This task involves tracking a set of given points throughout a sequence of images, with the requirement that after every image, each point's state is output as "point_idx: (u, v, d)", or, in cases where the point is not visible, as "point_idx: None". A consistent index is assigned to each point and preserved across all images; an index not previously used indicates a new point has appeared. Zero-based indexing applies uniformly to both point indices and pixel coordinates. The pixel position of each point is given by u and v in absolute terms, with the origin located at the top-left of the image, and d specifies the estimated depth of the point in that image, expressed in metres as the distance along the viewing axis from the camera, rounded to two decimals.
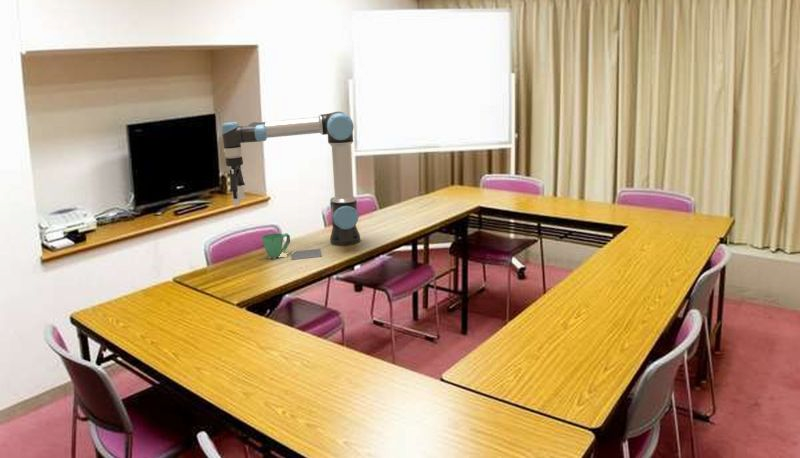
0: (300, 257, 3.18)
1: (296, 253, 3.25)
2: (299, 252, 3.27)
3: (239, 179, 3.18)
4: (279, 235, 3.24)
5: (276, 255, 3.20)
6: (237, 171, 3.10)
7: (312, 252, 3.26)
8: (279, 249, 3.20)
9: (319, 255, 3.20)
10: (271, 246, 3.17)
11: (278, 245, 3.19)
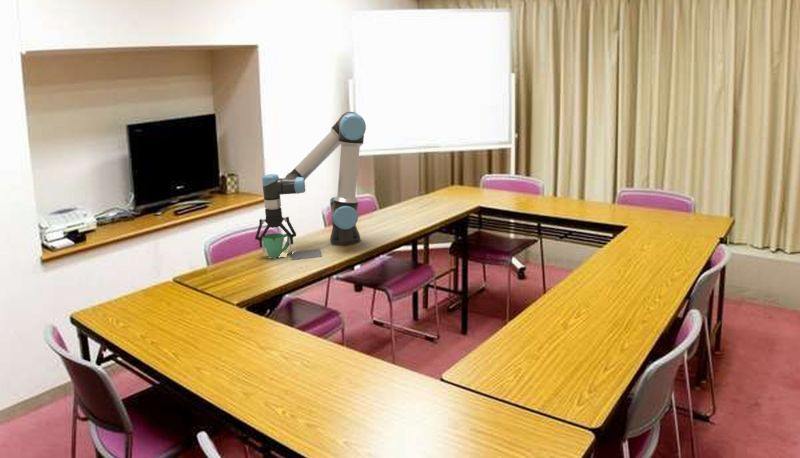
0: (300, 257, 3.18)
1: (296, 253, 3.25)
2: (299, 252, 3.27)
3: None
4: (280, 235, 3.24)
5: (276, 255, 3.20)
6: (269, 222, 3.19)
7: (312, 252, 3.26)
8: (279, 249, 3.20)
9: (319, 255, 3.20)
10: (271, 246, 3.17)
11: (279, 245, 3.19)
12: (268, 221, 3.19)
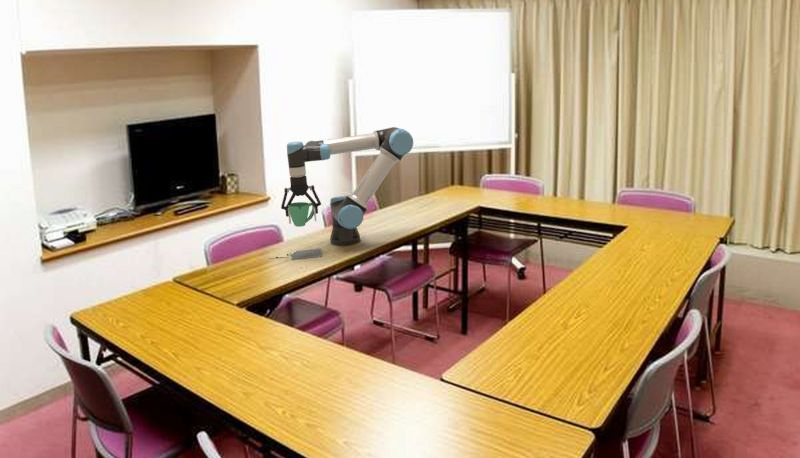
0: (300, 257, 3.18)
1: (296, 253, 3.25)
2: (299, 252, 3.27)
3: (309, 199, 3.18)
4: (305, 204, 3.20)
5: (302, 224, 3.16)
6: (294, 190, 3.15)
7: (312, 252, 3.26)
8: (305, 218, 3.15)
9: (319, 255, 3.20)
10: (297, 214, 3.13)
11: (305, 213, 3.14)
12: (293, 189, 3.15)
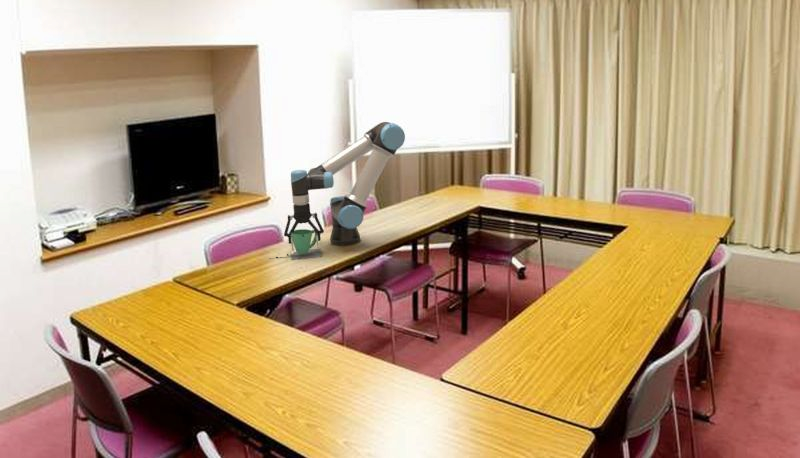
0: (300, 257, 3.18)
1: (296, 253, 3.25)
2: None
3: (312, 227, 3.21)
4: (308, 231, 3.23)
5: (304, 251, 3.19)
6: (298, 218, 3.18)
7: (312, 252, 3.26)
8: (308, 245, 3.19)
9: (319, 255, 3.20)
10: (300, 242, 3.16)
11: (308, 241, 3.17)
12: (296, 217, 3.18)
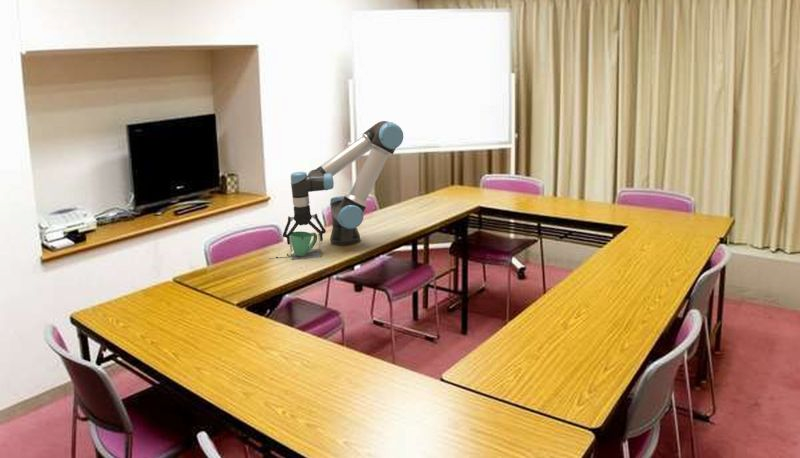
0: (300, 257, 3.18)
1: None
2: None
3: None
4: (307, 234, 3.23)
5: (302, 253, 3.19)
6: (298, 220, 3.18)
7: (312, 252, 3.26)
8: (306, 248, 3.19)
9: (319, 255, 3.20)
10: (299, 244, 3.16)
11: (307, 244, 3.18)
12: (297, 219, 3.18)
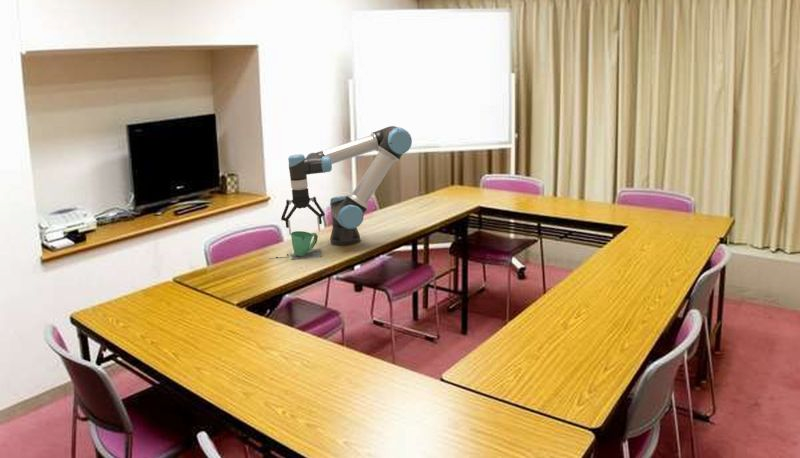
0: (300, 257, 3.18)
1: None
2: None
3: None
4: (308, 234, 3.23)
5: (302, 253, 3.19)
6: (296, 203, 3.16)
7: (312, 252, 3.26)
8: (307, 248, 3.19)
9: (319, 255, 3.20)
10: (299, 244, 3.16)
11: (307, 244, 3.18)
12: (295, 202, 3.16)
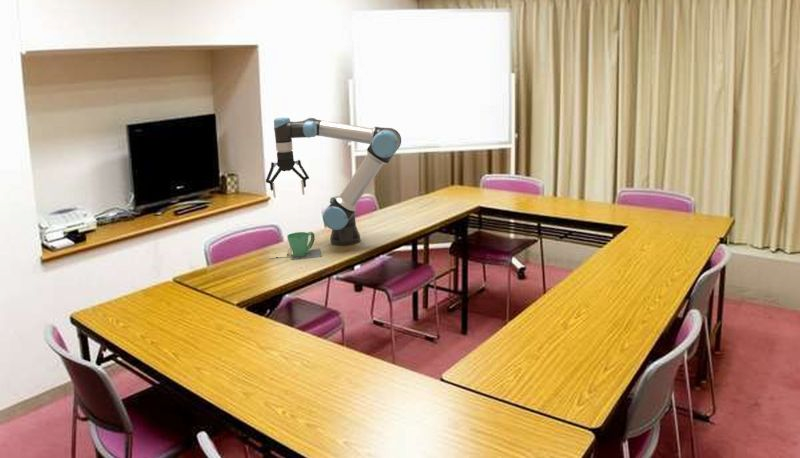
0: (300, 257, 3.18)
1: None
2: None
3: None
4: (304, 234, 3.23)
5: (302, 254, 3.19)
6: (281, 165, 3.20)
7: (312, 252, 3.26)
8: (305, 248, 3.19)
9: (319, 255, 3.20)
10: (297, 245, 3.16)
11: (305, 243, 3.18)
12: (280, 165, 3.20)
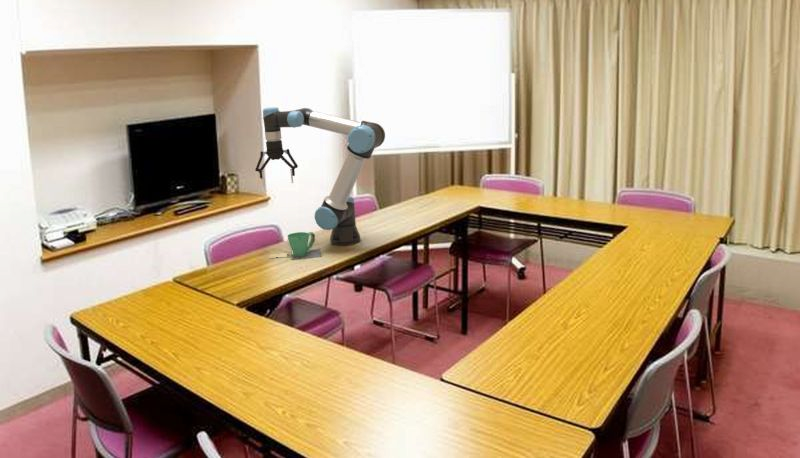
0: (300, 257, 3.18)
1: None
2: None
3: (285, 162, 3.30)
4: (304, 234, 3.23)
5: (302, 254, 3.19)
6: (270, 154, 3.27)
7: (312, 252, 3.26)
8: (305, 248, 3.19)
9: (319, 255, 3.20)
10: (297, 245, 3.16)
11: (305, 243, 3.18)
12: (269, 153, 3.27)
